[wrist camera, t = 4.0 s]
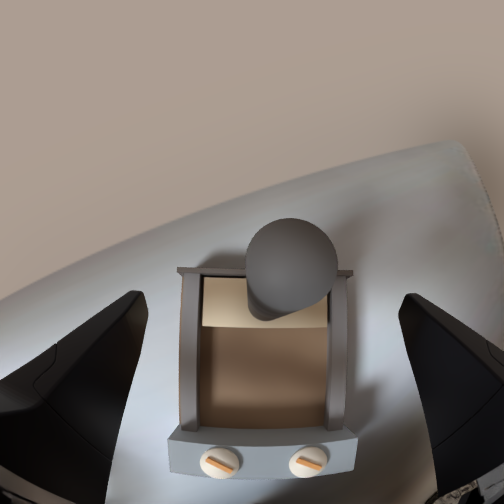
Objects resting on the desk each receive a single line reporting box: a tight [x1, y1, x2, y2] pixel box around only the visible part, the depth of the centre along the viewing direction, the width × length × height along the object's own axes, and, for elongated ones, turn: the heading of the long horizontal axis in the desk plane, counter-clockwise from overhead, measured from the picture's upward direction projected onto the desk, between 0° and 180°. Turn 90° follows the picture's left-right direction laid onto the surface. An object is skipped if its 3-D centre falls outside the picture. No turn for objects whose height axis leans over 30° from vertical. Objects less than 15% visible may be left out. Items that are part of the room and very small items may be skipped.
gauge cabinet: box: [167, 424, 358, 480], centre depth 14 cm, size 2×11×4 cm, turn 89°
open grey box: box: [177, 267, 353, 432], centre depth 16 cm, size 13×11×2 cm
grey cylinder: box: [202, 218, 338, 328], centre depth 12 cm, size 3×8×11 cm, turn 89°
